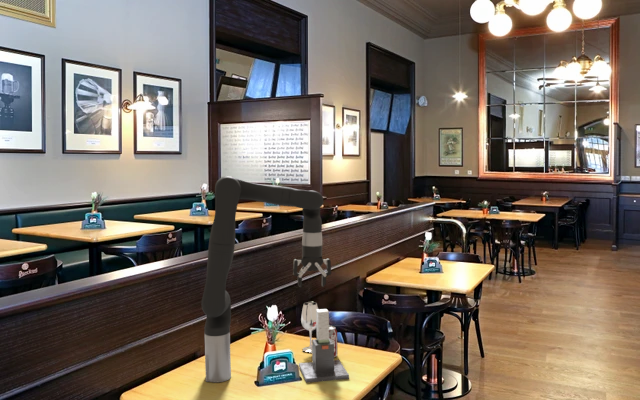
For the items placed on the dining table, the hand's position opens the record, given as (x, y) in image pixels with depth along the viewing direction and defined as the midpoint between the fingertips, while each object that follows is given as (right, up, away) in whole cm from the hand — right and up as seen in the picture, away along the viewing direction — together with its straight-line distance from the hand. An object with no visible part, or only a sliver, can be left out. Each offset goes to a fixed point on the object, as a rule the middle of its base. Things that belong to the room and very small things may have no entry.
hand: (311, 286), depth 216 cm
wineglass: (-1, -31, +26) cm, 41 cm away
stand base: (+4, -33, +1) cm, 33 cm away
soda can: (+7, -32, +19) cm, 37 cm away
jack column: (+4, -25, 0) cm, 25 cm away
